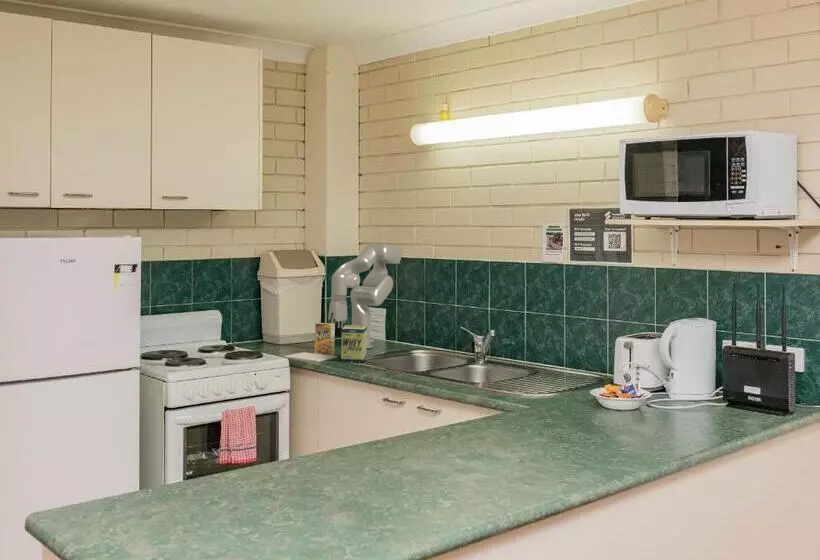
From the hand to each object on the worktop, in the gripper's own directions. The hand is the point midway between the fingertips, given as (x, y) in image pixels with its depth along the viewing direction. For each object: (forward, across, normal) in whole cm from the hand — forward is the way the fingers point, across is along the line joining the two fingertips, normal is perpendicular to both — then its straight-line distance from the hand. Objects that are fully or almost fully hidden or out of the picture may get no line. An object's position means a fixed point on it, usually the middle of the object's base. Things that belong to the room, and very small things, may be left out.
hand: (337, 335), depth 446 cm
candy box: (+9, +11, 0) cm, 14 cm away
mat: (+8, +22, 0) cm, 23 cm away
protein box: (+9, +14, +19) cm, 25 cm away
